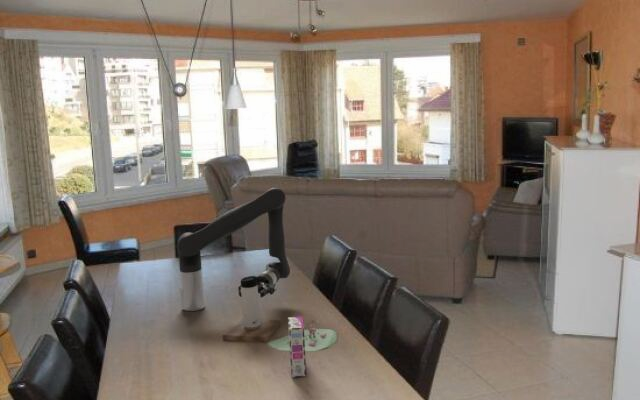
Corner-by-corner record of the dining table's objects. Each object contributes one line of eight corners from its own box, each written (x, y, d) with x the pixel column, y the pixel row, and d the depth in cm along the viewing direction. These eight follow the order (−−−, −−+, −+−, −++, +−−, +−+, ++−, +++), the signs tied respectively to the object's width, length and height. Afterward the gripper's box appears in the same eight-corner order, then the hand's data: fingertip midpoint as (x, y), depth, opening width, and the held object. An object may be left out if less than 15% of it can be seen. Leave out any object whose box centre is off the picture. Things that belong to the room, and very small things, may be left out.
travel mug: (258, 330, 223) (254, 279, 219) (242, 330, 224) (237, 279, 221) (263, 324, 229) (259, 274, 225) (247, 323, 230) (243, 274, 227)
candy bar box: (307, 377, 187) (304, 327, 184) (291, 378, 186) (288, 329, 184) (305, 361, 198) (302, 315, 195) (290, 363, 197) (287, 316, 195)
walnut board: (222, 340, 221) (222, 334, 220) (239, 323, 237) (239, 318, 236) (265, 342, 216) (265, 336, 216) (280, 324, 233) (279, 319, 232)
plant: (279, 360, 202) (277, 335, 200) (262, 339, 221) (260, 316, 219) (346, 345, 210) (344, 321, 209) (324, 326, 229) (323, 304, 228)
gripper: (248, 272, 243) (232, 284, 227) (280, 273, 239) (267, 285, 224) (249, 290, 244) (234, 303, 228) (282, 291, 240) (268, 304, 225)
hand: (250, 294), depth 226 cm, fingers open, 8 cm apart
